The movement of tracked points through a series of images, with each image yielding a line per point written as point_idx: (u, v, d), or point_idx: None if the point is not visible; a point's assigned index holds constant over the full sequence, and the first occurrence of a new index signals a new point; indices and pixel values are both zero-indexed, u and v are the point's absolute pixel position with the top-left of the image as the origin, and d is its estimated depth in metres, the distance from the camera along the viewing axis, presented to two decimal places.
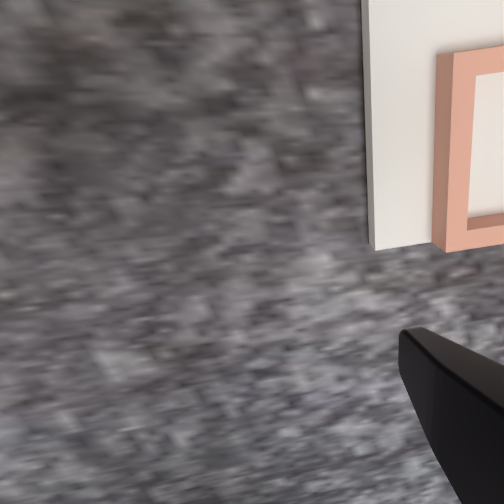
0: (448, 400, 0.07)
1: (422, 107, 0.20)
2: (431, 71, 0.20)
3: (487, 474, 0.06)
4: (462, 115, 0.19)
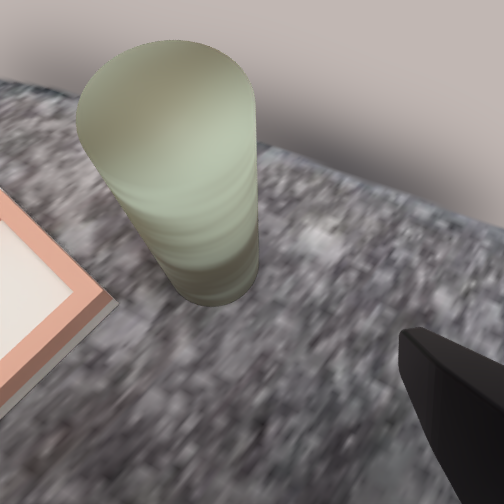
0: (448, 400, 0.07)
1: None
2: None
3: (487, 474, 0.06)
4: None
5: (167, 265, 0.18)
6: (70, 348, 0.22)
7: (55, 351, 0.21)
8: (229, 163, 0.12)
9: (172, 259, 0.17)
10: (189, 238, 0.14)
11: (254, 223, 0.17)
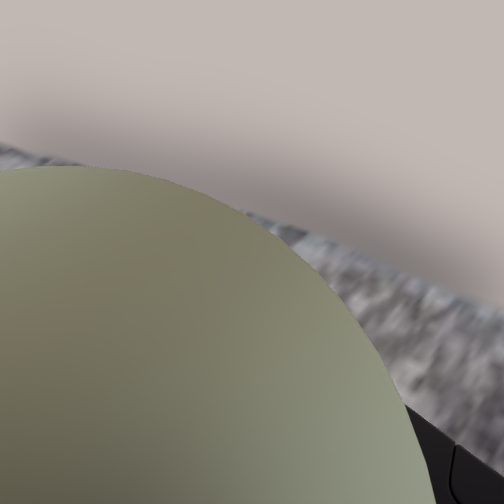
0: None
1: None
2: None
3: None
4: None
5: None
6: None
7: None
8: None
9: None
10: None
11: None
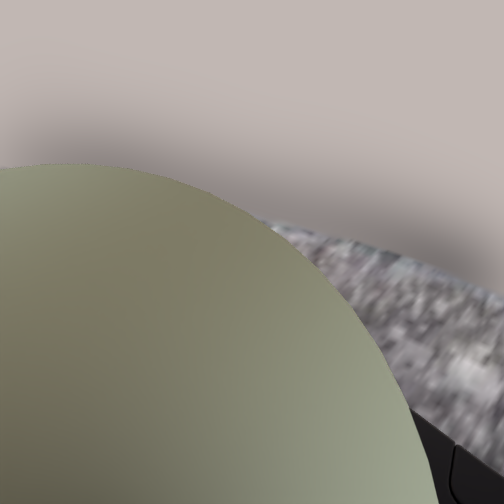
0: None
1: None
2: None
3: None
4: None
5: None
6: None
7: None
8: None
9: None
10: None
11: None
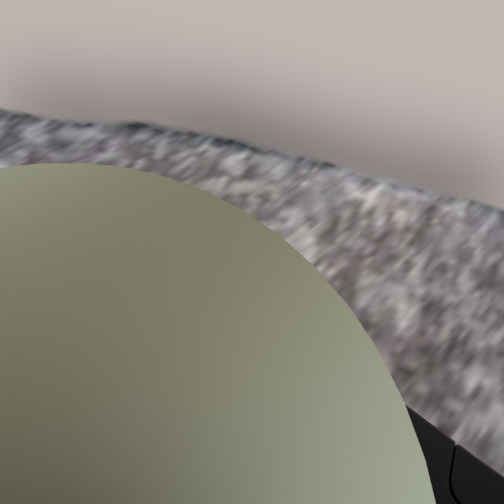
0: None
1: None
2: None
3: None
4: None
5: None
6: None
7: None
8: None
9: None
10: None
11: None
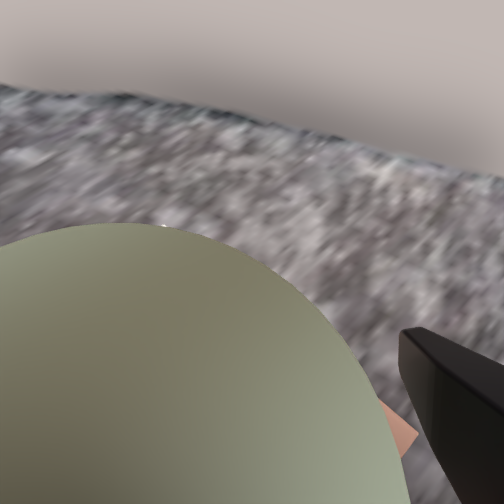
0: (448, 400, 0.07)
1: None
2: None
3: (487, 474, 0.06)
4: None
5: None
6: None
7: None
8: None
9: None
10: None
11: None
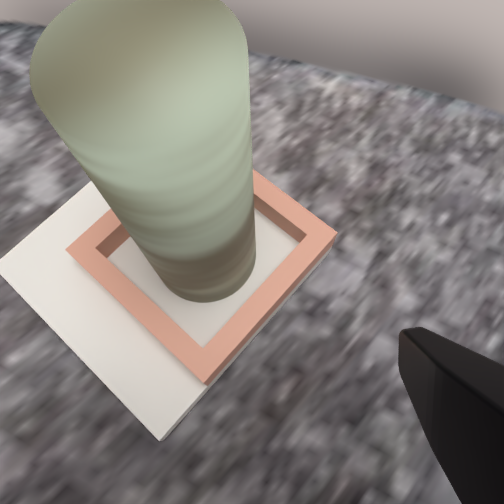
0: (448, 400, 0.07)
1: (96, 297, 0.21)
2: (82, 272, 0.21)
3: (487, 474, 0.06)
4: (109, 276, 0.20)
5: (151, 254, 0.16)
6: (290, 295, 0.21)
7: (286, 295, 0.20)
8: (217, 120, 0.09)
9: (155, 246, 0.14)
10: (172, 219, 0.12)
11: (249, 205, 0.15)
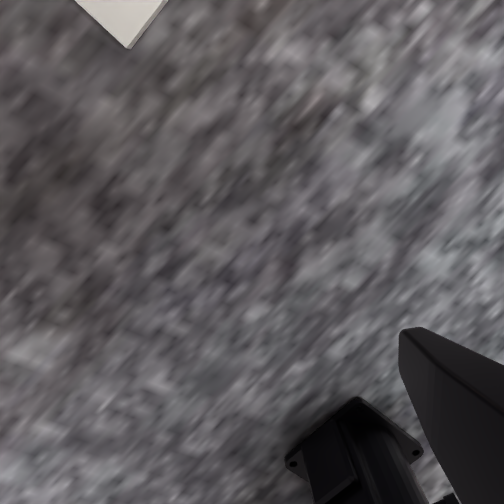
0: (448, 400, 0.07)
1: None
2: None
3: (487, 474, 0.06)
4: None
5: None
6: None
7: None
8: None
9: None
10: None
11: None
